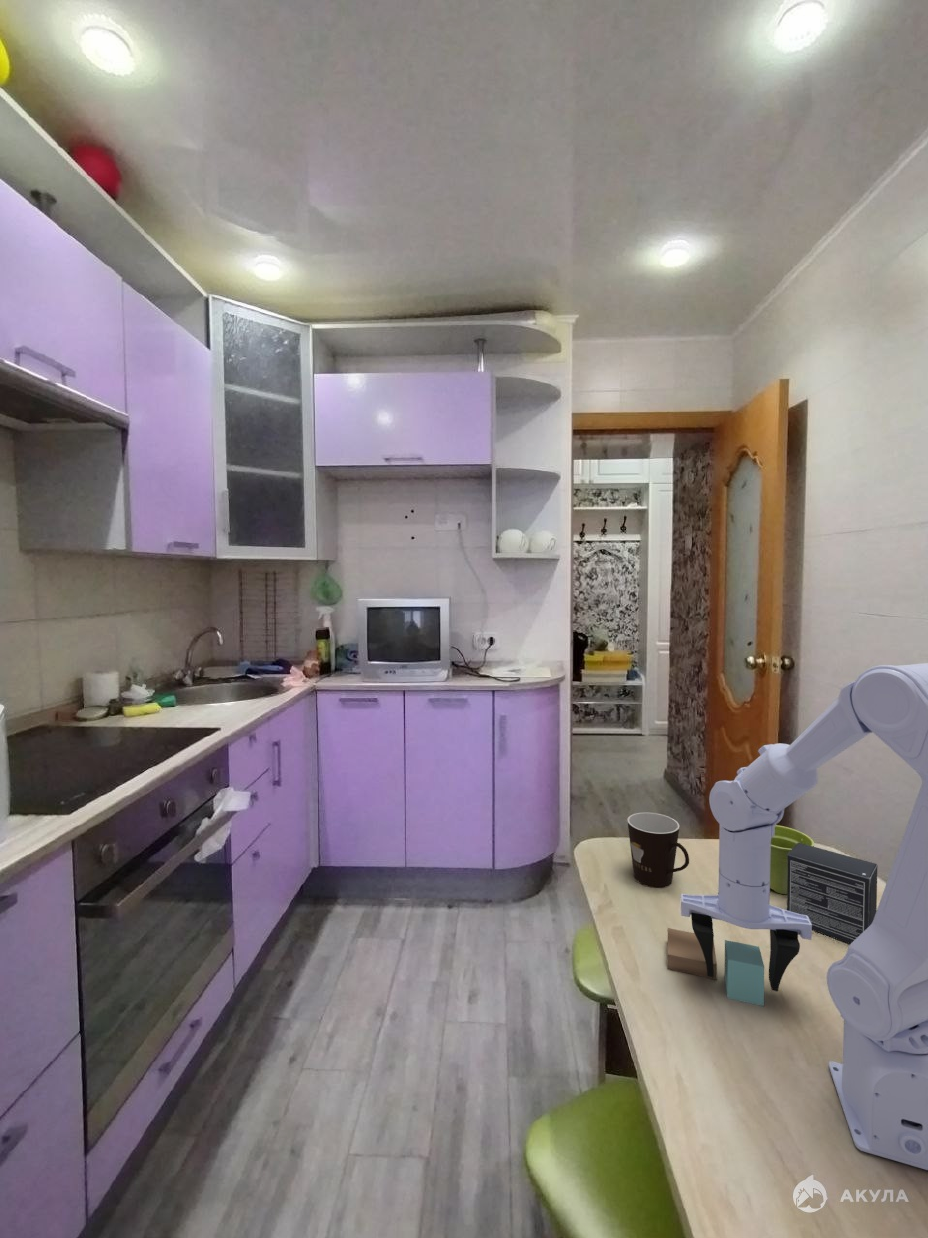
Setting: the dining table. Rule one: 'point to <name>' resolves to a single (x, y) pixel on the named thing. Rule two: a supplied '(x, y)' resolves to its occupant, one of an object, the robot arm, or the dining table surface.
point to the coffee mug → (654, 848)
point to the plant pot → (783, 855)
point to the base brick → (687, 954)
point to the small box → (832, 891)
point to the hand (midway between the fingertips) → (741, 978)
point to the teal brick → (744, 973)
